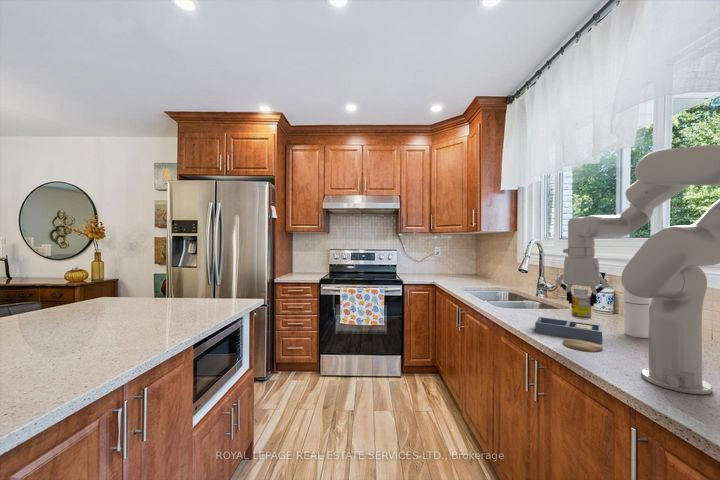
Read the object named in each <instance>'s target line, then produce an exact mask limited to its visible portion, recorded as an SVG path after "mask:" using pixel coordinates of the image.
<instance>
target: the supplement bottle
mask: <svg viewBox="0 0 720 480" xmlns="http://www.w3.org/2000/svg"><path fill="white" fill-rule="evenodd" d="M570 305H571V317H572V318H574V319H577V320H582V321H585V320H587V321H588V320H591V318H592V306H591V294H589V289H587V288H583V287H581V288H580V287H575V288H574V289H573V292H572V295H571V304H570Z"/></svg>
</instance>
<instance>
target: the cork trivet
mask: <svg viewBox="0 0 720 480" xmlns="http://www.w3.org/2000/svg"><path fill="white" fill-rule="evenodd" d="M562 345H564V346H565V347H566V348H569V349H572V350H575V351H581V352H589V353H598V352H602V351H603V347H602V345H600V344H598V343H596V342H593V341H587V340H581V339H574V338H569V339H564V340H563V341H562Z"/></svg>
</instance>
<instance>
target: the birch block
mask: <svg viewBox="0 0 720 480" xmlns="http://www.w3.org/2000/svg"><path fill="white" fill-rule="evenodd" d="M575 327H576V328H583V329H590V330H592V326H588V325H581V324H576V326H575Z"/></svg>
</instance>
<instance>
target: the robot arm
mask: <svg viewBox="0 0 720 480" xmlns="http://www.w3.org/2000/svg"><path fill="white" fill-rule="evenodd" d="M634 176H635V178H636V179H637V180H636V181H635V182H634V183H632V184H631V185H630V186H628V187H627V188H626V190H625V192H624V197H625V199H626V200H627V202H628V203H629V204H630V206H629V207H627V208H626V209H624V210H623V211H622V212H620V213H618V214H602V215H600V214H593V215H588V216H580V217H572V218H569V219H568V221H567V248H565V249H564V248H563V249H562V253H563V254H566V255H567V256H565V257H564V261H563V262H564V263H563V271H562V275H560V276H559V277H558V278H557V279H555V283H556V284H557V285H558V286H560V287H561V289H563V290H564V291H565V292H566V302H568V304H570V305H572V304H571V295H572V294H573V292H572V289H571V288H572V287H573V286H582V287H589V288H590V290H591V294H590V296H591V307H594V306H595V304H597V295H598V294H599V293H601V292H602V291H604V290H605V289H607V288H608V287H610V283H608V282H607V281H606V280H605V278H603V277H602V276H601V275H600V273H601V272H600V263H599V260H598V259H599V258H598V257H597V256H596V255H595V253H596V251H595V249H596V248H595V246H596V244H595V240H596V239H620V238H624V237H627V236H630V235H631V234H633V233H634V232H636V231H638V230H639V229H641V228H642V227H644V226H645V225H646V224H647V223H649V222H650V220H651V218H652V217H653V215H654V213H655V209H657V208H658V207H660V206H661V205H662V204H664V203H665V202H667V201H669V199H671V198H673V197H675V196H676V195H677V194H679V193H681V192H683V190H686V189H687V188H689V187H691V186H706V187H707V186H708V187H710V186H711V187H713V186H714V187H717V186H718V187H720V144H706V145H698V146H696V145H695V146H687V147H680V148H679V147H678V148H676V147H675V148H668V149H658V150H654V151H652V152H649V153H647V154H645V155H644V156H643V157H642V158H640V160H639V161H638V162H637V163H636V165H635V168H634ZM719 264H720V199H717V201H716V202H714V203H713V204H711V206H710V207H709V208H708V209H707V210H706V211H705V212H704V214H702V216H701V217H700V218H699V219H697V221H696V222H694V223H692V224H690V225H689V224H688V225H671V226H667V227H666V226H665V227H663V228H661V229H659V230H657V231H655V232H654V233H652V235H650V236H649V237H648V238H647V239H646V240H645V242H644V243H643V244H642V245H641V246H640V247H639V249H638V251H636V253H635V254H634V255H633V256H632V258H631V259H630V260H629V261H628V263H626V265H625V267H624V268H623V271H622V273H621V284H622V286H623V288H625V289H626V290H627V291H628V292H629V293H631V294H632V295H635V296H638V297H642V298H649V299H651V301H650V302H649V312H648V333H649V338H648V368H647V367H646V368H643V369H641V370H640V375H641V377H642V378H643V379H644V380H646V381H647V382H649V383H651V384H653V385H656V386H658V387H662V388H664V389H668V390H672V391H676V392H679V393H686V394H692V395H709V394H711V393H713V386H712V385H711V384H710V383H708V382H707V381H705V380H703V306H704V305H703V304H704V300H705V296H706V292H707V289H708V288H707V287H708V279H707V275H706V274H705V271H704V270H703V269H702V268H701V267H704V266H707V267H708V266H715V265H719ZM600 283H601V284H602V285H600ZM599 285H600V286H599ZM596 287H597V288H596Z"/></svg>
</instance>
